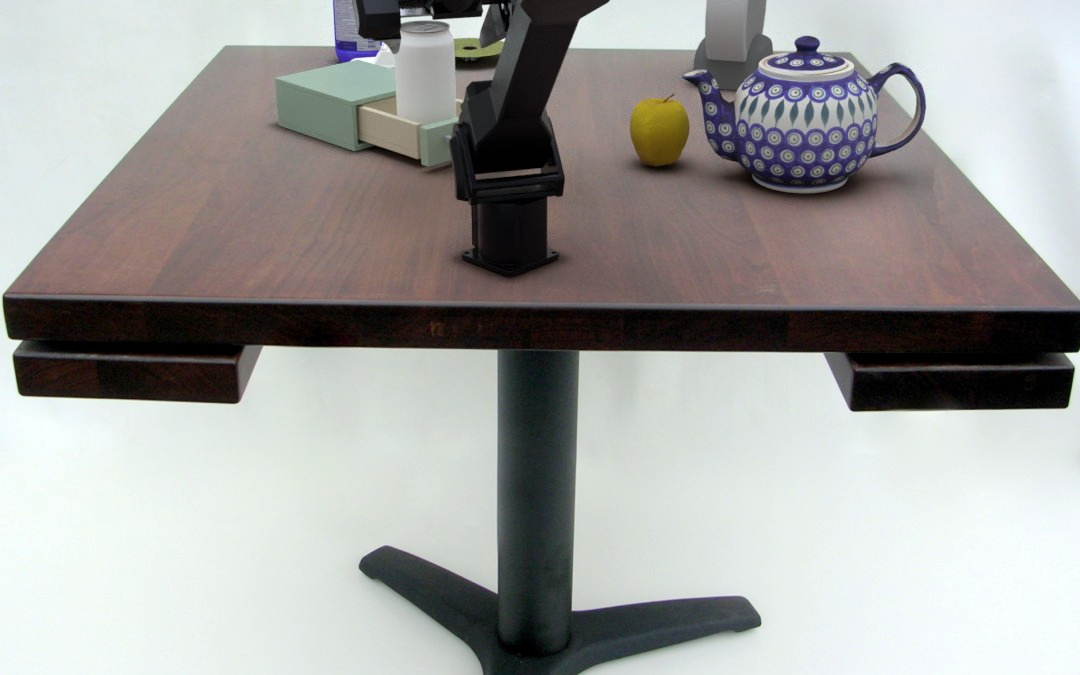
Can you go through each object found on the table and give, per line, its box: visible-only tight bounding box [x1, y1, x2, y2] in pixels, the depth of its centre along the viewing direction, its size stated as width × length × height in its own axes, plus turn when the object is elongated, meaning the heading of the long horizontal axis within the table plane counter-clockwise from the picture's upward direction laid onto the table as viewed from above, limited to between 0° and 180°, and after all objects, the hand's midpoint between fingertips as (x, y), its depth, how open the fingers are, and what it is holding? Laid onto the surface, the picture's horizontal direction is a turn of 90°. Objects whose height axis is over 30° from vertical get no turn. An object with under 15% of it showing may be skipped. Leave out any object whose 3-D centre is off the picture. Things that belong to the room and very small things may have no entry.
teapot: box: [681, 35, 927, 194], centre depth 140 cm, size 25×15×15 cm, turn 87°
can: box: [394, 19, 457, 127], centre depth 148 cm, size 6×6×12 cm
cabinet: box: [274, 60, 396, 152], centre depth 158 cm, size 14×12×6 cm
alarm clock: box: [692, 0, 774, 91], centre depth 176 cm, size 16×10×18 cm, turn 162°
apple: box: [629, 92, 690, 168], centre depth 145 cm, size 6×6×8 cm
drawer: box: [356, 96, 464, 168], centre depth 149 cm, size 18×11×4 cm, turn 45°
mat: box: [453, 37, 504, 62], centre depth 188 cm, size 11×11×2 cm
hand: (438, 47), depth 140 cm, fingers open, 9 cm apart
